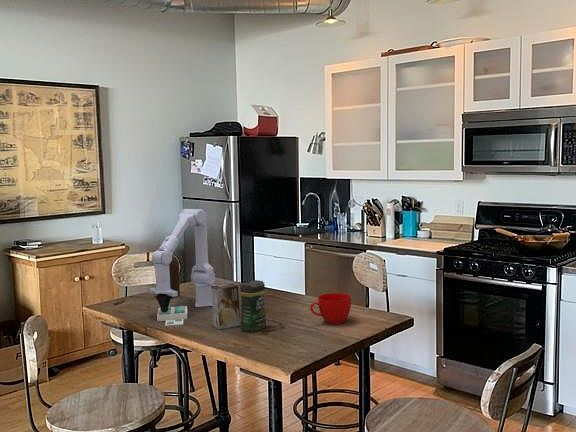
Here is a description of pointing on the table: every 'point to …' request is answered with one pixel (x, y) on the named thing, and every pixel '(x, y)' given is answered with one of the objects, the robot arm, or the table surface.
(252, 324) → the coffee jar
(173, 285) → the olive oil
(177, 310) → the button
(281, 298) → the table surface
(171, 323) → the card
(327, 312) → the ceramic cup
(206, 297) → the robot arm
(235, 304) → the coffee box
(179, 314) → the button board
